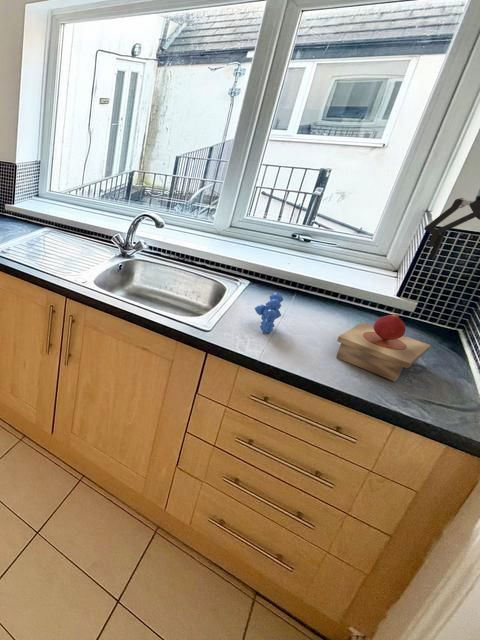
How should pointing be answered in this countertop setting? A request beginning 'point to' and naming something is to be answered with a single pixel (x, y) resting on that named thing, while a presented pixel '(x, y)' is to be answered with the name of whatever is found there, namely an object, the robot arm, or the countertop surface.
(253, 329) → the countertop surface
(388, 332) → the onion
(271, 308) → the grapes
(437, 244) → the robot arm
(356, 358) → the wooden stand red oval
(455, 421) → the countertop surface
